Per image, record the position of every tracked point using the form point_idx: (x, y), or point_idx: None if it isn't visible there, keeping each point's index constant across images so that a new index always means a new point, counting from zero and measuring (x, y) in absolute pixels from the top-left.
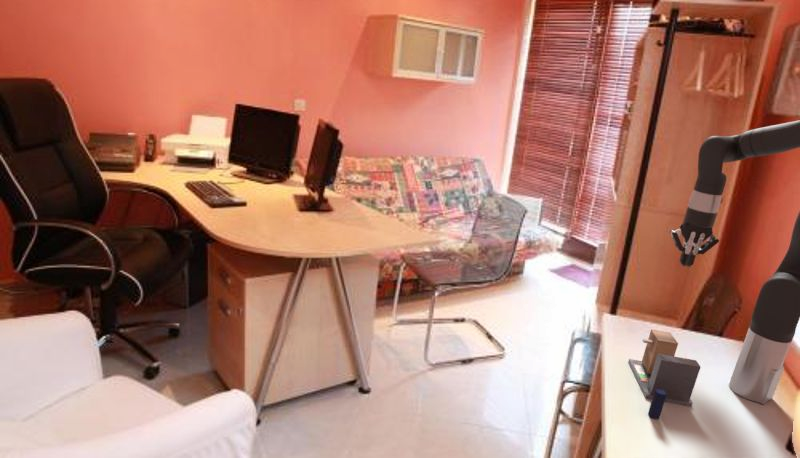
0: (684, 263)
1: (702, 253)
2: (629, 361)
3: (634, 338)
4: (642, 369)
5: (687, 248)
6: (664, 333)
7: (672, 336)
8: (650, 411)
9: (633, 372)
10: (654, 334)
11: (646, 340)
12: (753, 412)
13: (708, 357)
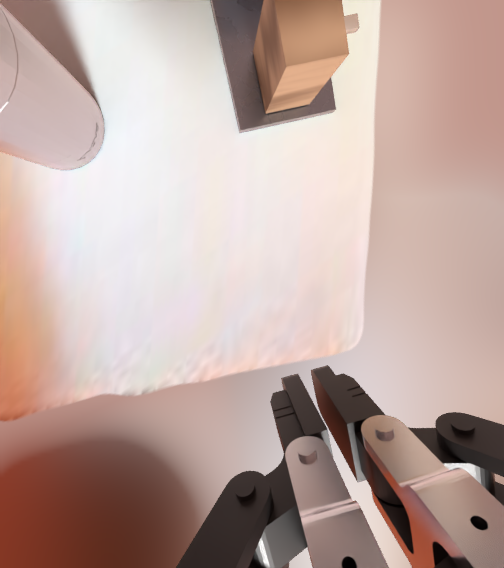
0: (329, 372)
1: (241, 480)
2: (333, 103)
3: (310, 256)
4: None
5: (414, 459)
6: (307, 43)
7: (283, 32)
8: None
9: None
10: (342, 9)
11: (350, 20)
12: (54, 13)
13: (144, 263)
